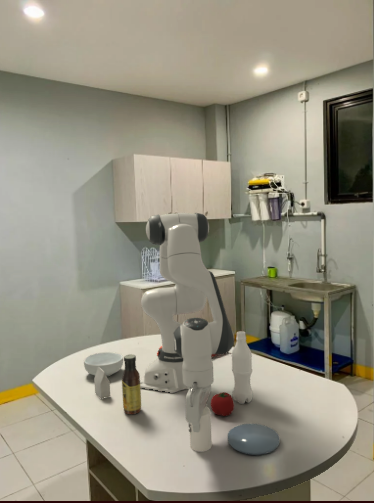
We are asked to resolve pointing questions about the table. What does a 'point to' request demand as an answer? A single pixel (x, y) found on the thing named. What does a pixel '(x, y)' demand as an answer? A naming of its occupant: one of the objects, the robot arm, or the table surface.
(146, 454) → the table surface
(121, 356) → the cereal bowl
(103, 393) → the small milk carton
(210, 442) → the candle
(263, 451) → the candle dish
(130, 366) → the sauce bottle
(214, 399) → the tomato
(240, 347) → the water bottle
